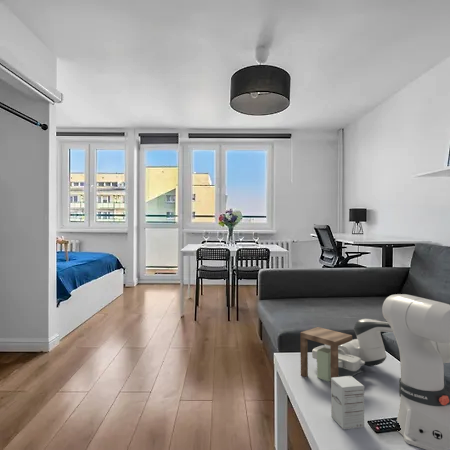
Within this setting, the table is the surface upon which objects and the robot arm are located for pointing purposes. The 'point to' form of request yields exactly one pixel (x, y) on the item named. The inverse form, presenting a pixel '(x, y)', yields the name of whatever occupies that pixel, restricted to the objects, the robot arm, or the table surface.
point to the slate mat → (347, 372)
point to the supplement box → (347, 402)
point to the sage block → (324, 364)
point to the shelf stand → (322, 337)
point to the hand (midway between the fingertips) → (324, 363)
